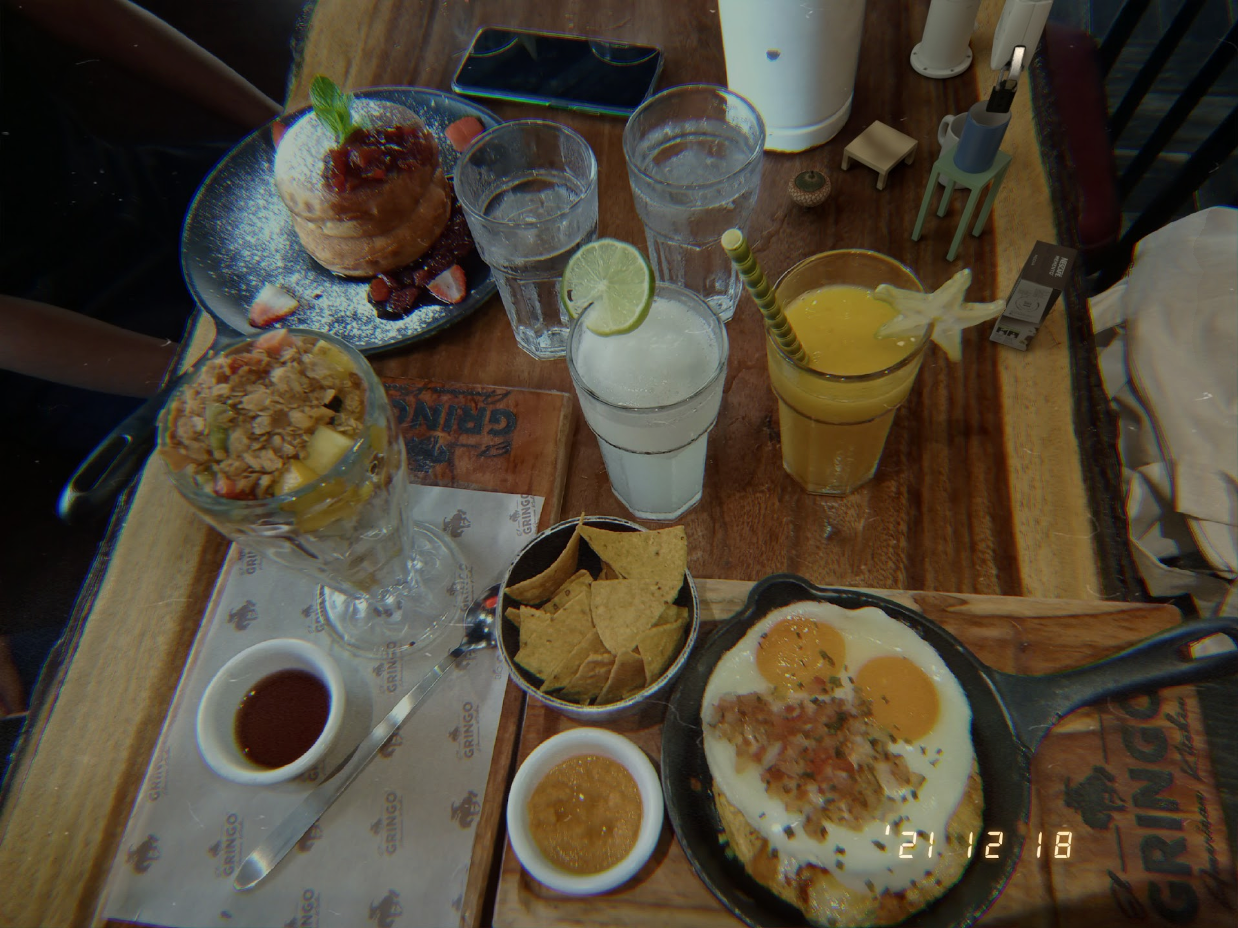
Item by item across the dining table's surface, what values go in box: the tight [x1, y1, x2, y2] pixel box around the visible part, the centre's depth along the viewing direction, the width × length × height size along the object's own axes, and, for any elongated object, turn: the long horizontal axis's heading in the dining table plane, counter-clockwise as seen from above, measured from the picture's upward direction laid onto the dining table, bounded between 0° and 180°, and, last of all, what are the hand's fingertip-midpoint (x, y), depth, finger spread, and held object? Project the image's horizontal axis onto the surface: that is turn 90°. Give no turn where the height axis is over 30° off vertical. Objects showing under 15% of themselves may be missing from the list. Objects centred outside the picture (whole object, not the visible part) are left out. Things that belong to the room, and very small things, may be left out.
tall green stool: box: [911, 141, 1014, 262], centre depth 131 cm, size 9×9×18 cm
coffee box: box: [989, 239, 1079, 352], centre depth 121 cm, size 9×6×16 cm
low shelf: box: [840, 120, 919, 191], centre depth 147 cm, size 10×10×5 cm
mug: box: [937, 111, 968, 190], centre depth 141 cm, size 12×8×11 cm
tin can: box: [953, 99, 1013, 173], centre depth 119 cm, size 6×6×9 cm
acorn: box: [787, 169, 832, 212], centre depth 142 cm, size 8×8×10 cm
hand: (999, 89), depth 111 cm, fingers open, 9 cm apart
